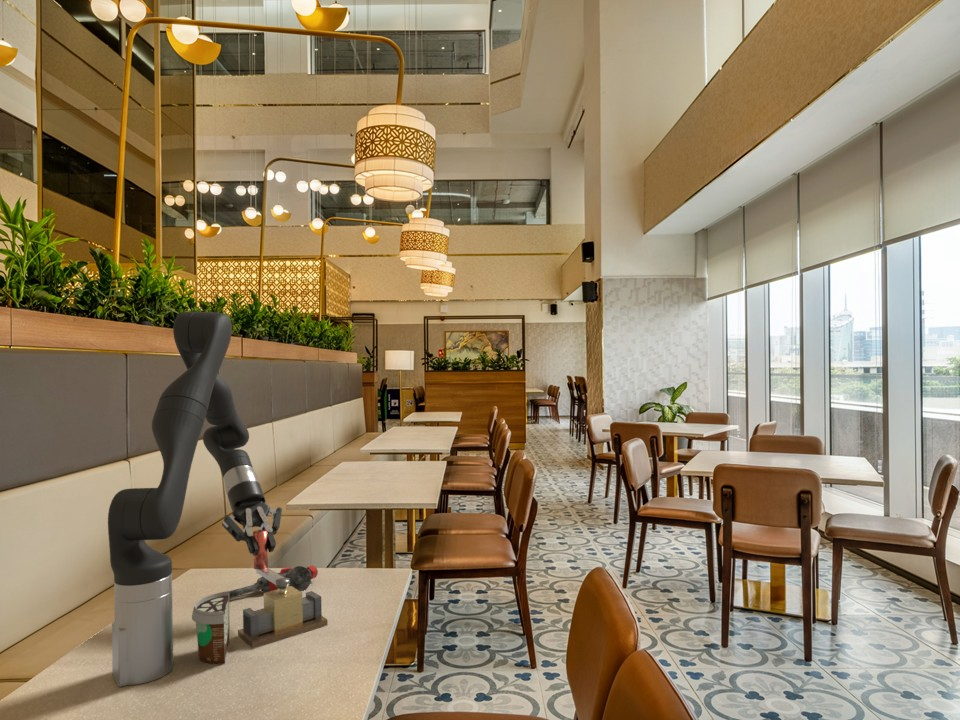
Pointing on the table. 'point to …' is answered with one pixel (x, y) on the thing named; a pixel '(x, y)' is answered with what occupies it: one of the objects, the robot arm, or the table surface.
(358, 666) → the table surface
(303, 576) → the valve
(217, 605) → the food container
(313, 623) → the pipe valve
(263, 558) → the lever
